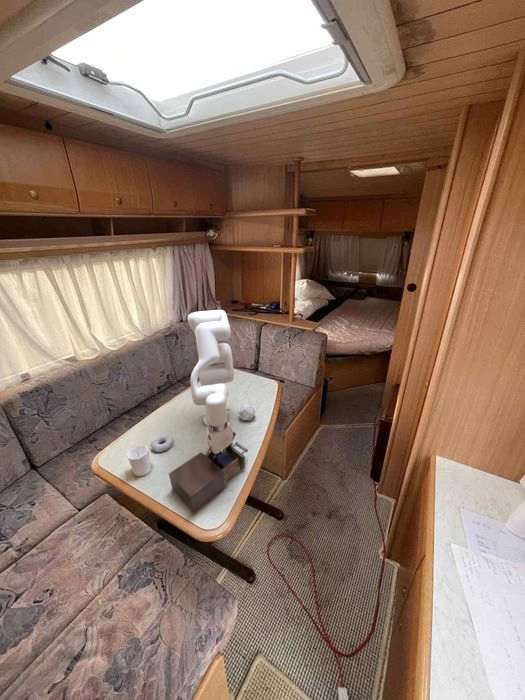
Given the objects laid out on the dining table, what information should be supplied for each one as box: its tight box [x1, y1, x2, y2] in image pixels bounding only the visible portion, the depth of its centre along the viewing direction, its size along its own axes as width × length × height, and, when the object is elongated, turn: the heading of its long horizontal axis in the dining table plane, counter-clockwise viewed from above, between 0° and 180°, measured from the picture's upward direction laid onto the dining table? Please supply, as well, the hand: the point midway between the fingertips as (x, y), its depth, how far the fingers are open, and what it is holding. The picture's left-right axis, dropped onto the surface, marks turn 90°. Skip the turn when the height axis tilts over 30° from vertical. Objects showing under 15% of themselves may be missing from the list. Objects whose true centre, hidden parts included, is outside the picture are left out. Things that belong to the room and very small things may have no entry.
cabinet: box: [168, 452, 226, 514], centre depth 105 cm, size 15×15×9 cm
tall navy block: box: [217, 452, 232, 469], centre depth 114 cm, size 8×4×3 cm, turn 46°
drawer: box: [206, 441, 249, 482], centre depth 115 cm, size 18×14×7 cm
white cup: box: [126, 444, 152, 477], centre depth 115 cm, size 8×8×10 cm
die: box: [237, 403, 256, 421], centre depth 145 cm, size 8×9×10 cm
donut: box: [150, 434, 174, 453], centre depth 129 cm, size 10×4×10 cm
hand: (222, 457), depth 113 cm, fingers open, 6 cm apart
